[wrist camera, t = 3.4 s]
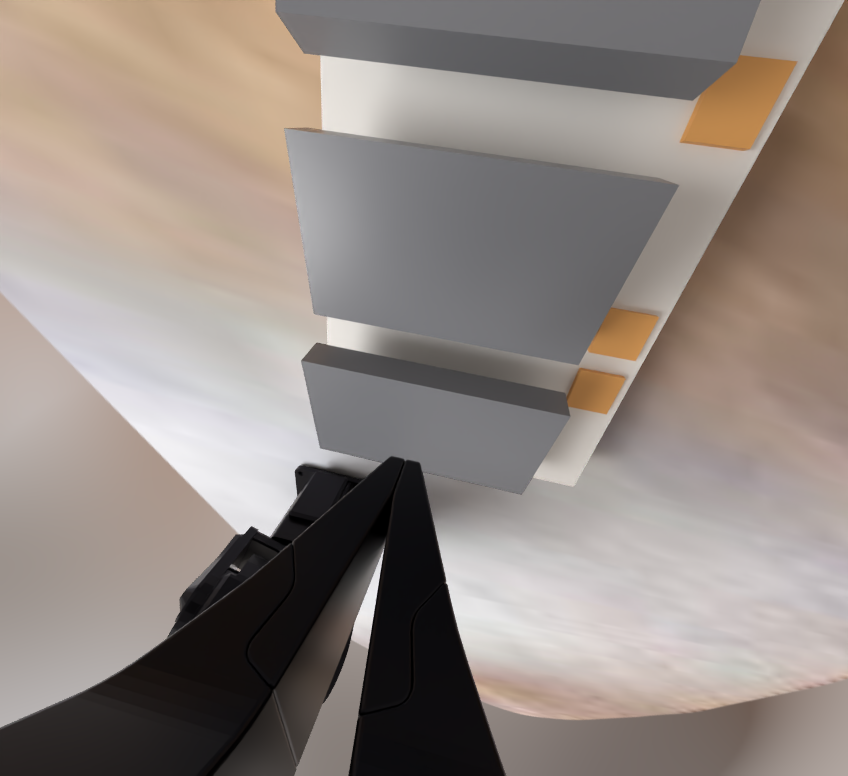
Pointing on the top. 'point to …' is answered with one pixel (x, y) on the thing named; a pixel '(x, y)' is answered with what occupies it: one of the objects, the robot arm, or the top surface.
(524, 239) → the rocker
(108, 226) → the top surface
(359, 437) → the rocker
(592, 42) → the plate
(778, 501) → the top surface
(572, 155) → the switch unit
